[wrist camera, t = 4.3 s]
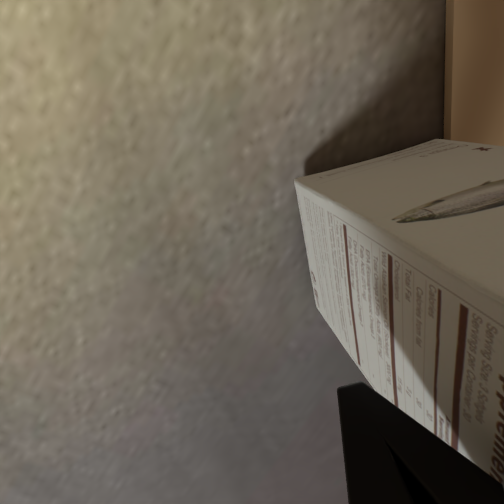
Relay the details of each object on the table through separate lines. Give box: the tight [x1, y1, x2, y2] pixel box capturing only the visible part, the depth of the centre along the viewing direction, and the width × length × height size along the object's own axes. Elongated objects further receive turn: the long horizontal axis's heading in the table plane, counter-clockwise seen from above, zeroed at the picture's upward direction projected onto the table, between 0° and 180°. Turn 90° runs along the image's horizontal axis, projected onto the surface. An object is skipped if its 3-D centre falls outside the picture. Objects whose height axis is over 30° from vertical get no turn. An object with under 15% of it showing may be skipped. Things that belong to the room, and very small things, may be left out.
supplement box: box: [294, 139, 504, 488], centre depth 12 cm, size 7×7×13 cm
